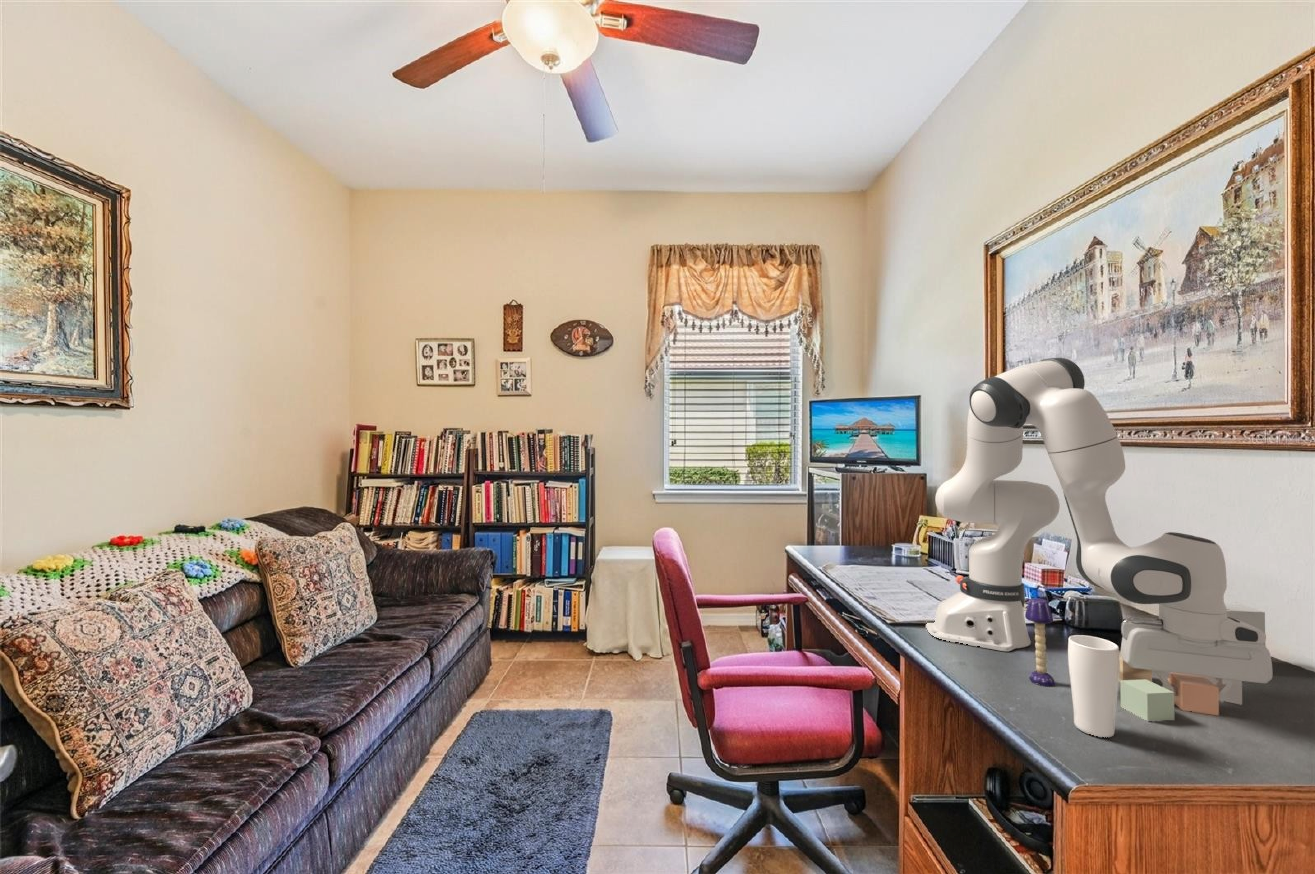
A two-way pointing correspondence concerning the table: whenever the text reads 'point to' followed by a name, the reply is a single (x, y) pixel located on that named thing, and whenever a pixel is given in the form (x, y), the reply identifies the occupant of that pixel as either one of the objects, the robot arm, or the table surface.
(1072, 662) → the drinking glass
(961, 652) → the table surface
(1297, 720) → the table surface
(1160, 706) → the sage block
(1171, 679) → the terracotta block
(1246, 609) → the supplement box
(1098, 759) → the table surface
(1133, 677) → the oak block
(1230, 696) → the grey block
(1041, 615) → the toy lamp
